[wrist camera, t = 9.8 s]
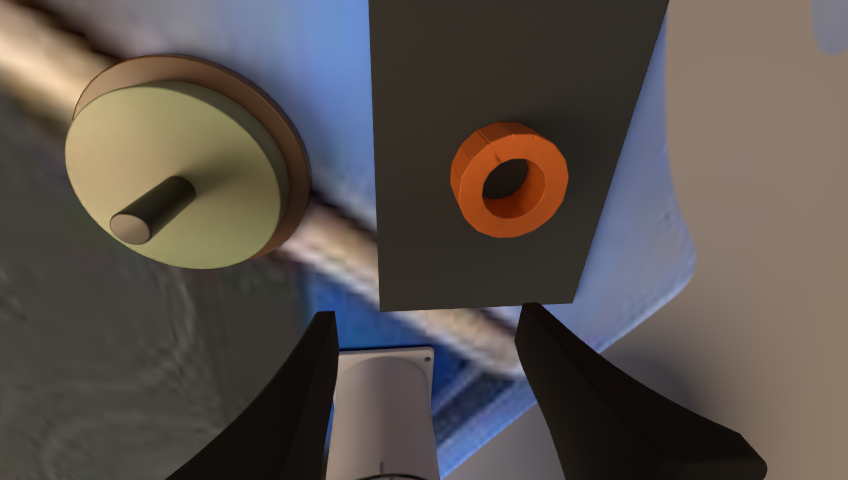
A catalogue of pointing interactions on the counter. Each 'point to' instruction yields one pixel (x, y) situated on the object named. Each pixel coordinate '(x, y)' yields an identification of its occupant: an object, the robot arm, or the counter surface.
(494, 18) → the mat
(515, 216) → the ring
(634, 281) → the counter surface
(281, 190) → the ring stand
